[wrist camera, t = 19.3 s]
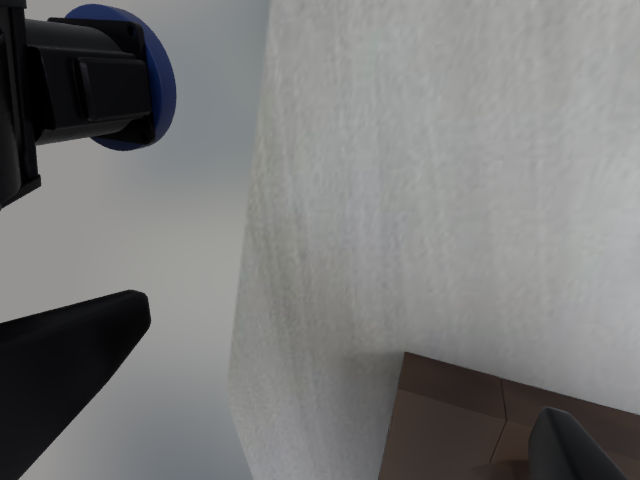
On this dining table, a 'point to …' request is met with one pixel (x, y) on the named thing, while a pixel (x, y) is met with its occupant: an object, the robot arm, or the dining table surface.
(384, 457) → the socket pad
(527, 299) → the dining table surface
